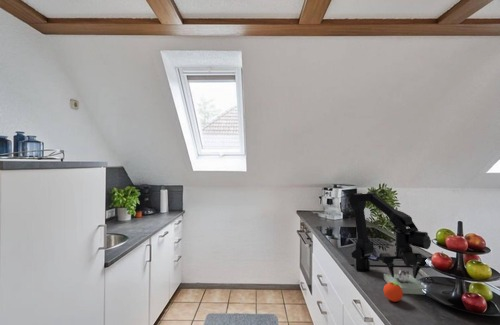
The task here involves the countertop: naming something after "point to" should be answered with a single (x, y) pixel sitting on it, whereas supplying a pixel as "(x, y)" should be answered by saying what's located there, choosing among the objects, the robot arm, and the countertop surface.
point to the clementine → (393, 291)
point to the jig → (406, 284)
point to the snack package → (374, 254)
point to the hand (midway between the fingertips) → (403, 277)
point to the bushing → (403, 276)
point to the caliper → (421, 272)
